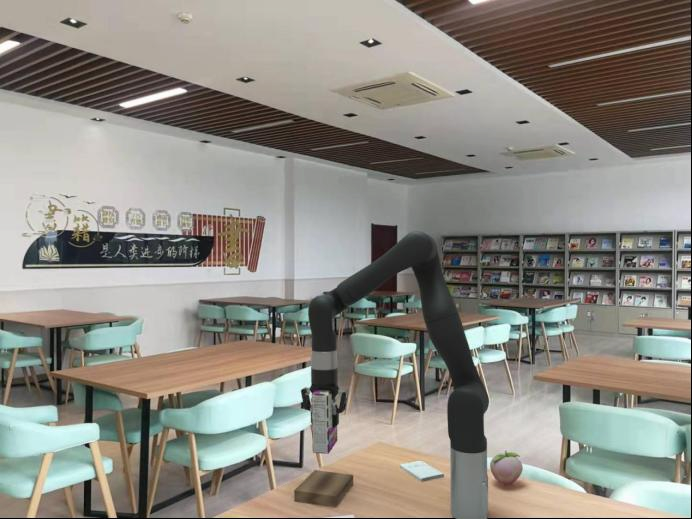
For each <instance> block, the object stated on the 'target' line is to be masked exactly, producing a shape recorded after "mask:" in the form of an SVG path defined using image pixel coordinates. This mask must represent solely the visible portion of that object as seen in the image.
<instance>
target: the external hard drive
mask: <svg viewBox="0 0 692 519" xmlns="http://www.w3.org/2000/svg"><path fill="white" fill-rule="evenodd" d="M399 468H400V469H401V470H403V471H404V472H406V473H408V474H409V475H410V476H412V477H414V478H415V479H417V480H418V481H419V482H421V483H422V482H426V481H427V482H428V481H432V480H436V479H441V478H445V474H444V473H443V472H441V471H439V470H438V469H436V468H434V467H433V466H431V465H429V464H428V463H425V462H424V461H422V460H417V461H411V462H406V463H401V464H400V465H399Z"/></svg>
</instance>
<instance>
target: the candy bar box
mask: <svg viewBox="0 0 692 519" xmlns="http://www.w3.org/2000/svg"><path fill="white" fill-rule="evenodd" d="M335 398H336V400H337V401H338V394H337V395H336V397H335ZM331 400H332V392H331V391H327V390H316V391H314V392H313V393H311V405H312V425H311V429H312V430H311V431H312V432H311V433H312V434H311V435H312V437H311V438H312V439H311V441H312V453H313V454H322V455H323V454H324V455H325V454H326V455H327V454H330V452H331V451H332V450H333V447H335V445H336V443H337V442H338V426H337V427H335V428H332V414H333V413H332V406H331ZM332 402H334V400H332Z"/></svg>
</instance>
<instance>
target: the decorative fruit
mask: <svg viewBox="0 0 692 519" xmlns="http://www.w3.org/2000/svg"><path fill="white" fill-rule="evenodd" d="M518 457H519V458H521V455H519V454H518V453H516V452H513V451H512V452H511V451H510V452H507V450H505V451H504V452H502V453H497V454H495V455H494V456H493V457H492V458H491V459H490V463H489V468H490V472H491V474H492V476H493V478H494V479H495V480H496V481H497V482H498V483H500V484H503V485H504V486H508V485H511V484H513V483H514V482H517V480H518V479H519V478H520V476H521V475H522V473H523V466H524V465H523V463H522V461H521V460H520V459H519V458H518Z"/></svg>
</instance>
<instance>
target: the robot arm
mask: <svg viewBox="0 0 692 519" xmlns="http://www.w3.org/2000/svg"><path fill="white" fill-rule="evenodd" d="M410 268H411V269H412V272H413V274H414V276H415V279H416V281H417V285H418V289H419V295H420V302H421V304H420V305H421V311H422V316H423V321H424V323H425V327H426V329H427V330H426V331H427V333H428V336H429V339H430V341H431V344H432V345H433V347H434V348H435V350H436V351H437V354H438V355H439V356H440V357H441V359H442V361H443V362H444V364H445V367H446V368H447V371H448V373H449V374H448V375H449V377H450V380H451V383H452V384H451V385H452V388H453V390H452V392H451V393H450V394H449V396H448V399H447V408H446V411H447V412H446V414H447V415H446V416H447V418H446V419H447V433H448V434H447V436H448V438H449V441H450V444H449V445H450V448H449V449H450V452H449V454H450V459H449V460H450V461H449V462H450V514H451V516H452V517H453V518H455V519H488V515H489V476H488V439H487V437H486V436H485V420H484V419H485V417H484V414H486V412H487V410H488V409H489V404H490V398H489V393H488V392H487V389H486V387H485V385H484V383H483V381H482V378H481V376H480V374H479V371H478V370H477V366H476V365H475V362H474V359H473V357H472V352H471V349H470V344H469V342H468V339H467V336H466V332H465V329H464V325H463V322H462V319H461V317H460V314H459V311H458V308H457V306H456V303H455V300H454V298H453V295H452V293H451V291H450V288H449V286H448V283H447V282H446V279H445V276H444V272H443V268H442V265H441V261H440V256H439V250H438V246H437V243H436V241H435V239H434V238H433V237H432V236H431V235H430V234H428V233H426V232H424V231H419V230H415V231H411V232H408V233H407V234H406V235H404V236H403V237H402V238H401V239H400V240H399V241H398V242H396V244H395V245H394V246H392V247H391V248H390V249H389V250H388V251H386V252H385V253H384V254H383V255H381V256H380V257H378V258H377V259H376V260H374V261H373V262H371V263H369V264H368V265H367V266H365V267H363V268H361V269H360V270H358V271H357V272H355V273H354V274H352V275H351V276H349V277H347V278H346V279H344V280H342V281H341V282H340V283H338V284H337V286H336V287H335V288H333V289H331V290H330V291H329V292H327V293H326V294H323V295H320V296H315V297H314V298H312V299H311V301H310V302H309V304H308V309H307V312H308V313H307V315H308V318H307V319H308V323H309V328H310V333H311V356H310V383H311V384H310V387H303V388H301V389H300V393H301V394H300V395H301V398H302V400H301V401H302V405H303V408H304V410H305V411H309V412H310V423H311V424H312V401H311V397H310V395H311V394H312V393H313V392H314V391H316V390H327V391H331V392H332V400H334V402H332V400H331V406H332V413H333V414H332V428H335V427H337V428H338V425H339V423H340V415H339V414H342V413H343V412H344V411H346V407H347V403H348V402H347V401H348V397H349V390H348V389H346V390H343V389H340V387H339V386H338V383H339V382H338V381H339V379H338V378H339V377H338V373H339V372H338V370H339V369H338V367H339V366H338V364H339V363H338V361H339V360H338V354H337V353H338V352H337V348H338V347H337V333H336V330H334V327H333V319H334V318H335V317H337V316H338V315H340V314H341V313H342V312H344V311H346V309H347V308H349V307H350V306H352V305H355V304H356V303H357V302H359V301H361V300H363V299H364V298H366V297H367V296H369V295H371V294H372V293H373V292H375V291H376V290H378V289H379V287H381V286H382V285H384V284H385V282H387V281H388V280H390V279H391V278H392V277H394V276H395V275H398V274H400V273H401V272H403V271H405V270H408V269H410ZM336 395H337V396H338V395H339V399H340V401H339V405H338V399H337V400H336V398H335V397H336Z"/></svg>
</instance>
